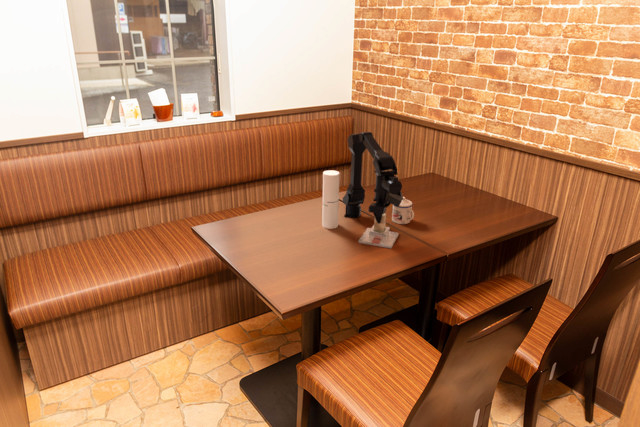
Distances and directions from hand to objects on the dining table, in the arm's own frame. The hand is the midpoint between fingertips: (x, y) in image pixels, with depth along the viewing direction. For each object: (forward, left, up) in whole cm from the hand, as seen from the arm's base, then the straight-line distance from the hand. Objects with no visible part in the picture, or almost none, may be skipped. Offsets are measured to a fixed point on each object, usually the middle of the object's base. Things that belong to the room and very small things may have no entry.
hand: (380, 221), depth 195 cm
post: (0, 0, -4) cm, 4 cm away
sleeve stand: (0, 0, -8) cm, 8 cm away
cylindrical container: (-24, +5, -8) cm, 26 cm away
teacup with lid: (+6, +22, -8) cm, 24 cm away
